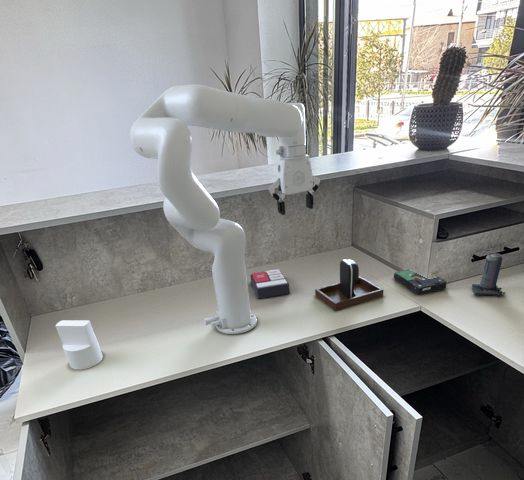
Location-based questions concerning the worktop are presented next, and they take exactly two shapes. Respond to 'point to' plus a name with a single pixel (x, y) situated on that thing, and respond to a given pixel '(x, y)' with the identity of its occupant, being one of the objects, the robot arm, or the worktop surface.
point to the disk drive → (419, 282)
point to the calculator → (269, 283)
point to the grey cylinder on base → (489, 277)
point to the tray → (338, 301)
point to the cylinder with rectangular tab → (79, 343)
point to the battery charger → (348, 277)
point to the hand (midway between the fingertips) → (295, 210)
